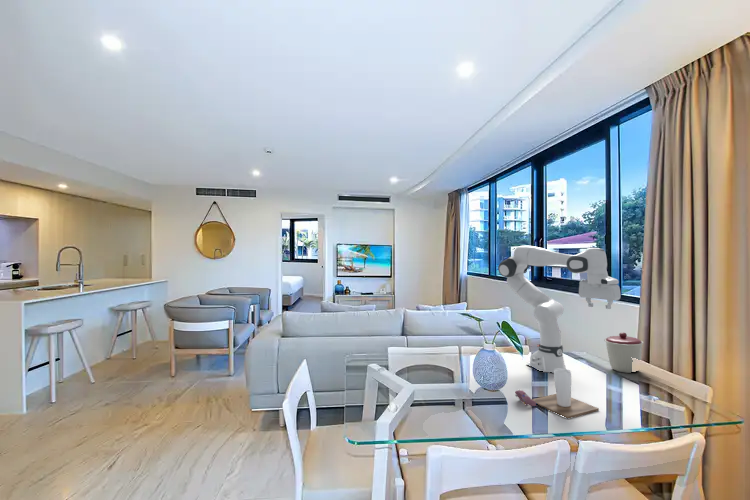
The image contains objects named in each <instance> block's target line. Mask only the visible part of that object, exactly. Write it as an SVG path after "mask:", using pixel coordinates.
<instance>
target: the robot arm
mask: <svg viewBox="0 0 750 500" xmlns="http://www.w3.org/2000/svg"><path fill="white" fill-rule="evenodd" d="M555 265H556V266H557V265H561V266H565V267H566V268H567V270H568V271H569V272H570V273H572V274H584V273H586V276H587V279H581V280H580V281H579V285H578V296H579V297H580V298H585V301H586V303H587V306H588V307H591V308H592V307H594V303H593V302H592V301H591V300H592V299H596V300H597V299H598V300H605V301H607V304H605V309H607V310H611V309H612V304H613V303H614V301H620V299H621V294H622V293H621V288H620V286H619V282H620V281H619V280H618V279H617V278H615V277H611V276H609V274H608V271H607V269H608V259H607V254H606V251H605V250H604V249H603V248H599V247H588V248H586V249H585V250H583V251H582V252H580V253H577V254H574V255H573V254H567V253H562V252H557V251H554V250H550V249H546V248H543V247H538V246H533V245H520V246H517V247H516V248H515V249H514V251H513V255H512V256H509V257H507V258H506V259H503V261H501V262H500V263H499V264H498V268H497V269H498V270H497V271H498V272H499V274H500V275H501V276H502V277H503V278H506V284H507V285H508V287H509V288H510V289H511V291H513V292H514V294H516V295H517V296H518V298H520V299H521V300H522V301H523V302H525V304H527V305H529V306H531V307H532V308H534V310H533V317H534V318H535V320H536V322H537V325H538V329H539V339H540V344H538V345H536V347H537V348H538V350H536V351H535V352H533V353H532V354H531V355H530V357H529V359H530V360H529V361H528V362H530V363H528V362H526V363H527V364H528V365H530V366H532V367H534V368H536V369H537V370H539V371H543V372H542V373H550V372H552V373H553V374H554V369H558V368H561V369H567V367H566V364H565V359H564V354H563V353H564V351H563V350H564V347H563V344H562V331H561V330H560V328H559V324H558V319H560V318H561V317H562V315H563V313H564V312H565V311H564V306H563V304H562V303H561V302H559V301H557V300H555V299H553V297H551V296H549V295H547V294H546V293H545V292H543V291H541V290H540V289H539V288H538V287H537V286H535V284H533V283H532V282H531V281H530V280H529V279H527V277H525V274H526V273H527V271H528V269H529V267H530V266H533V267H549V266H555ZM537 370H536V371H537ZM539 371H538V372H539ZM552 373H551V374H552Z"/></svg>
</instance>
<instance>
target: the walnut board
mask: <svg viewBox="0 0 750 500" xmlns="http://www.w3.org/2000/svg"><path fill="white" fill-rule="evenodd" d="M531 399H532V400H533V401H535V402H536V403H537V404H538V405H540V406H542V407H544V408H546V409H547V411H548V410H550V411H549V412H551V411H552V412H551V413H553V412H555V413H557V414H559V415H562V416H564V417H566V418H570V419H572V418H571V417H573V418H577V417H580V416H581V417H582V416H584V415H585V416H586V415H588V414H591V413H595V412H600V411H599V410H600V409H599V407H597V406H594V405H591V404H589V403H587V402H584V401H581V400H579V399H577V398H574V397H571V406H570V407H562V406H559V405H558V404H557V395H556V393H552V394H549V395H545V396H540V397H536V398H531ZM538 405H537V406H538ZM540 406H539V407H540ZM542 407H541V408H542ZM544 408H543V409H544ZM546 409H545V410H546ZM555 413H554V414H555ZM557 414H556V415H557ZM559 415H558V416H559Z"/></svg>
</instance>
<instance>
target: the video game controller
mask: <svg viewBox="0 0 750 500" xmlns="http://www.w3.org/2000/svg"><path fill="white" fill-rule="evenodd" d="M514 393H515V397H516V398H518V399H519V401H520V402H521V401H522V402H523V405H525V404H526V405H525V406H530V407H532V406H536V407H537V405H536V402H535V401H533V400H532V399H533V398H531V397H530V396H529V395H528V394H527V393H526V392H525V391H524V390H520V389H517V390H515V391H514ZM522 402H521V403H522Z"/></svg>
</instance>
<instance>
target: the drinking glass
mask: <svg viewBox="0 0 750 500" xmlns="http://www.w3.org/2000/svg"><path fill="white" fill-rule="evenodd" d="M553 381H554V386H555V387H554V388H555V394H556V395H557V404H558V405H559V406H562V407H570V406H571V398H572V371H571V370H570V369H567V368H566V369H561V368H558V369H554V373H553Z"/></svg>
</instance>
